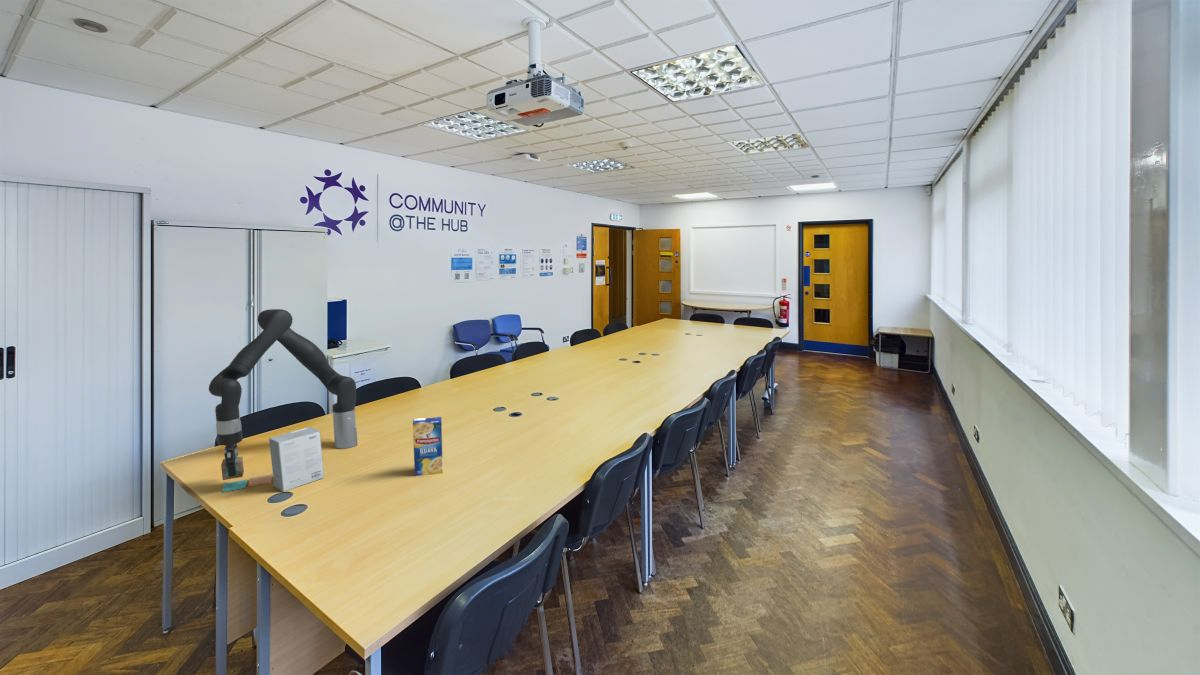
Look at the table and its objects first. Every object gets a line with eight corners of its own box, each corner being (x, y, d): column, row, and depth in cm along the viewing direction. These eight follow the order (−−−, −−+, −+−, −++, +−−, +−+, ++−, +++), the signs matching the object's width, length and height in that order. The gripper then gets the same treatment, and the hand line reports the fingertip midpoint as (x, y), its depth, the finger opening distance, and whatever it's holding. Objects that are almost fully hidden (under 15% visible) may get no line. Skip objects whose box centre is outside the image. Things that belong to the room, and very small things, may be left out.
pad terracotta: (271, 475, 198) (271, 474, 198) (270, 482, 192) (270, 481, 192) (250, 479, 194) (250, 478, 194) (248, 486, 188) (248, 485, 188)
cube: (243, 471, 191) (242, 456, 190) (242, 476, 186) (241, 461, 185) (224, 474, 188) (222, 458, 187) (222, 480, 183) (220, 464, 182)
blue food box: (415, 469, 207) (413, 418, 203) (443, 466, 210) (441, 416, 206) (414, 476, 200) (412, 424, 197) (442, 473, 203) (441, 422, 200)
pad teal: (246, 481, 193) (246, 479, 193) (245, 488, 187) (245, 486, 187) (224, 485, 189) (224, 483, 189) (222, 492, 183) (222, 490, 183)
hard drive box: (315, 473, 201) (311, 426, 198) (324, 478, 197) (321, 430, 194) (272, 487, 188) (268, 437, 185) (282, 492, 184) (277, 441, 181)
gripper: (239, 434, 180) (243, 477, 183) (243, 423, 193) (246, 464, 195) (213, 438, 177) (218, 482, 179) (219, 426, 189) (223, 467, 191)
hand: (233, 472), depth 187 cm, fingers closed on cube, 6 cm apart
